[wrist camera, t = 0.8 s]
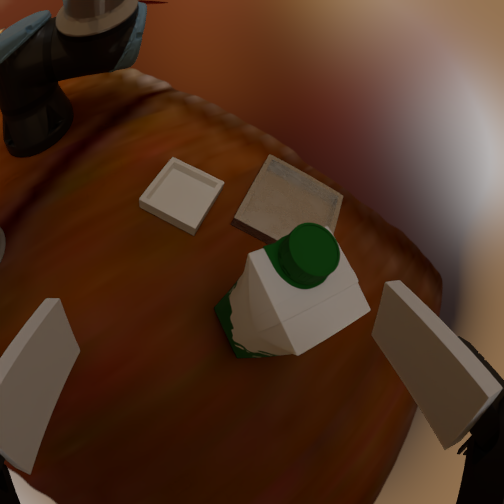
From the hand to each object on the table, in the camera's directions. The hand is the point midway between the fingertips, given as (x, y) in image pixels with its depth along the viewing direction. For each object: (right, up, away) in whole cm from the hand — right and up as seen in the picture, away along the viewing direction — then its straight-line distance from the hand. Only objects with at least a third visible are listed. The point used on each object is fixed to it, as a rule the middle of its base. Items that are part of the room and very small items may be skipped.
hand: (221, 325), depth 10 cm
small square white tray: (-9, +11, +30) cm, 33 cm away
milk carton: (+1, -7, +26) cm, 27 cm away
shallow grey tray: (+7, +9, +34) cm, 36 cm away
